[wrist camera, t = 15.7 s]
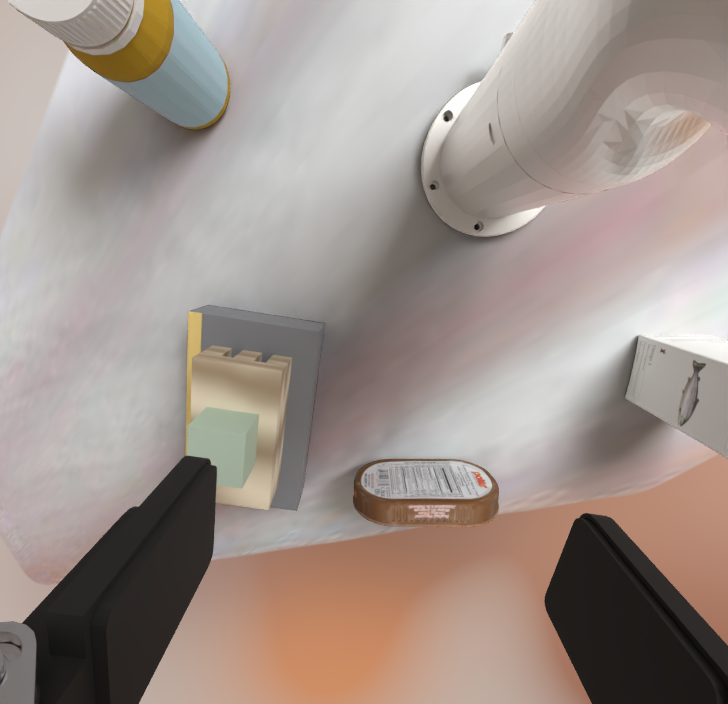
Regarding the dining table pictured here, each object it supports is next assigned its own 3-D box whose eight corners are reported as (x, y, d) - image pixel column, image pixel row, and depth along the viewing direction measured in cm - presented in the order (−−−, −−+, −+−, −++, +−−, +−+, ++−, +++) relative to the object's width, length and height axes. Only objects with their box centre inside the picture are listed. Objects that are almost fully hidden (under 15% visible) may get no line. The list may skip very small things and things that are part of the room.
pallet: (212, 345, 33) (192, 357, 29) (292, 357, 33) (282, 371, 29) (207, 473, 37) (188, 499, 33) (278, 483, 37) (268, 510, 33)
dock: (208, 304, 36) (188, 311, 32) (324, 323, 36) (319, 332, 32) (202, 472, 42) (184, 495, 38) (303, 486, 42) (296, 511, 38)
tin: (354, 477, 42) (351, 532, 33) (354, 454, 41) (350, 504, 33) (483, 477, 41) (511, 532, 33) (485, 453, 40) (514, 504, 32)
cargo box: (207, 406, 30) (187, 425, 27) (259, 414, 31) (245, 434, 27) (205, 457, 32) (186, 480, 29) (255, 464, 32) (242, 488, 29)
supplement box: (636, 332, 36) (770, 373, 24) (709, 333, 36) (880, 375, 24) (621, 399, 38) (737, 467, 26) (690, 400, 38) (839, 469, 26)
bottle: (232, 136, 32) (119, 42, 17) (154, 126, 32) (-25, 22, 17) (233, 44, 30) (108, -148, 16) (151, 33, 30) (-54, -172, 15)
